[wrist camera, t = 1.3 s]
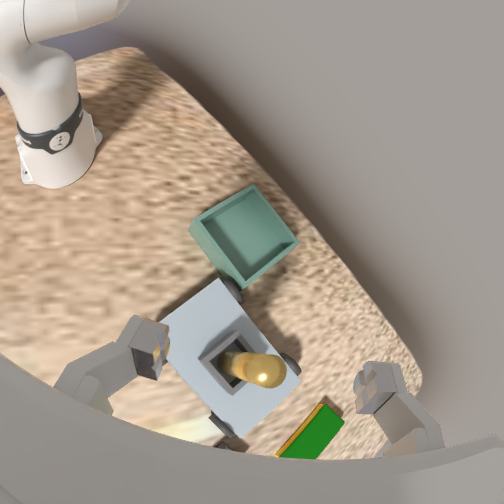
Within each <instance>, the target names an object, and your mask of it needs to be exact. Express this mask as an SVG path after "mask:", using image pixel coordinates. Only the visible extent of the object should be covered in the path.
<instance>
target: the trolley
mask: <svg viewBox="0 0 504 504" xmlns="http://www.w3.org/2000/svg"><path fill="white" fill-rule="evenodd" d="M242 302H243V298H242V295H241V293H240V291H239V290H238V288H237V287H236V286H235V285H234V284H233V283H232V282H231V281H230V280H228V279H226V278H223V279H222V280H220V279H219V278H217V279H216V280H215V281H213V282H212V283H211V284H209V285H208V286H207V287H205V288H204V289H203V290H201V291H200V292H199V293H197V294H196V295H194V296H193V297H192V298H190V299H189V300H188V301H186V302H185V303H184V304H182V305H181V306H180V307H178V308H177V309H176V310H174V311H173V312H172V313H170V314H169V315H168V316H166V317H165V318H164V319H162V320H161V321H160V322H159V323H163V324H166V325H169V330H170V332H169V334H168V337H169V338H170V348H169V352H168V355H167V358H166V360H165V361H163V362H162V366H163V365H165V364H166V363H167V362H169V363H170V364H171V366H172V367H173V368H174V369H175V370H176V371H177V373H178V374H179V375H180V376H181V377H182V378H183V380H184V381H185V382H186V383H187V384H188V385H189V386H190V388H191V389H192V390H193V391H194V392H195V393H196V394H197V395H198V396H199V397H200V399H201V400H202V401H203V402H204V403H205V404H206V405H207V406H208V407H209V408H210V409H211V410H212V411H213V412H214V413H213V414H212V415H211V416H210V417H209V419H210V420H211V421H212V422H213V423H214V424H215V425H216V426H217V427H218V428H219V429H220V430H221V431H222V432H223V433H224V434H225V435H226V436H227V437H229V438H230V439H231V438H232V437H233V436H234V435H237V436H238V437H239V438H240V439H241V438H242V437H243V436H245V435H246V434H247V433H248V432H249V431H250V430H251V429H252V428H254V427H255V426H256V425H257V424H258V423H259V422H260V421H261V420H262V419H263V418H265V417H266V416H267V415H268V414H269V413H270V412H271V411H272V410H273V409H274V408H275V407H276V406H277V405H278V404H279V403H280V402H281V401H282V400H283V399H284V398H285V397H286V396H287V395H288V394H289V393H290V392H291V391H292V390H293V389H294V388H295V387H296V386H297V385H298V384H299V383H300V382H301V380H300V379H299V378H298V375H299V374H300V373H301V368H300V367H299V365H298V364H297V363H296V362H295V361H294V360H293V359H292V358H291V357H289V356H288V355H286V354H284V353H280V354H278V352H277V351H276V350H275V349H274V347H273V346H272V345H271V344H270V343H269V341H268V340H267V339H266V338H265V336H264V335H263V334H262V333H261V331H260V330H259V329H258V328H257V326H256V325H255V324H254V323H253V321H252V320H251V319H250V318H249V316H248V315H247V314H246V312H245V311H244V310H243V309H242V307H241V306H240V304H241V303H242ZM227 350H231V351H240V352H250V353H261V354H273V355H277V356H279V357H281V358H282V359H283V360H284V362H285V363H286V367H287V375H286V378H285V380H284V381H283V383H282V384H281V385H279V386H278V387H275V388H271V389H268V388H264V387H261V386H258V385H256V384H253V383H250V382H247V381H245V380H242V379H239V378H237V377H234V376H232V375H229V374H227V373H224V372H222V371H221V370H220V369H219V367H218V365H217V359H218V357H219V355H220V354H221V353H222V352H224V351H227Z"/></svg>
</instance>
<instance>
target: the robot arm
mask: <svg viewBox="0 0 504 504" xmlns="http://www.w3.org/2000/svg"><path fill="white" fill-rule="evenodd" d="M129 1H130V0H0V87H1V88H2V90H3V91H4V92H5V94H6V95H7V97H8V99H9V102H10V104H11V106H12V108H13V111H14V113H15V116H16V118H17V128H18V132H19V134H18V135H16V137H15V138H16V143H17V145H18V147H17V148H18V152H19V153H20V162H21V176H22V181H23V183H24V184H37V185H40V186H42V187H45V188H61V187H64V186H67V185H69V184H71V183H73V182H75V181H76V180H78V179H79V178H80V177H81V176H82V175H83V174H84V173H85V172H86V171H87V170H88V168H89V167H90V165H91V163H92V161H93V159H94V155H95V150H96V148H97V146H98V145H99V144H100V142H101V141H102V138H103V137H102V133H101V132H100V131H99V130H98V129H97V128H96V127H95V126H94V125H93V122H92V117H91V114H88V113H87V112H86V111H85V110H84V109H83V102H82V99H81V95H80V93H79V92H78V86H77V74H76V65H75V62H74V60H73V59H72V58H71V56H69V54H67V53H66V52H65V51H63V50H60V49H56V48H50V47H46V46H43V45H41V44H40V43H38V42H39V41H43V40H46V39H49V38H52V37H56V36H60V35H63V34H68V33H71V32H76V31H80V30H83V29H86V28H88V27H92V26H94V25H97V24H100V23H103V22H106V21H109V20H112V19H114V18H116V17H117V16H118V15H119V14H120V13H121V12H122V11H123V10H124V8H125V7H126V6H127V5H128V3H129ZM27 172H28V173H27ZM26 173H27V174H26ZM169 332H170V330H169V325H166V324H163V323H159V322H156V321H153V320H150V319H147V318H143V317H140V316H137V315H133V316H132V317H131V318H130V320H129V321H128V323H127V325H126V326H125V328H124V329H123V331H122V333H121V334H120V336H119V338H118V339H117V341H116V343H115V342H111V343H109V344H107V345H105V346H103V347H101V348H99V349H97V350H95V351H93V352H91V353H89V354H87V355H85V356H83V357H81V358H79V359H77V360H75V361H73V362H71V363H69V364H67V366H66V368H65V369H64V371H63V372H62V374H61V376H60V377H59V379H58V380H57V382H56V384H55V385H54V387H52V386H50V385H48V384H47V383H45V382H43V381H42V380H40V379H38V378H37V377H35V376H33V375H32V374H30V373H29V372H27V371H25V370H24V369H22V368H21V367H19V366H18V365H16V364H15V363H14V362H12V361H11V360H9V359H8V358H7V357H5V356H4V355H3V354H1V353H0V504H504V441H503V440H502V439H501V438H500V437H499V436H498V435H496V434H491V435H488V436H485V437H482V438H479V439H475V440H472V441H468V442H465V443H461V444H457V445H453V446H449V447H445V446H444V442H443V437H442V433H441V428H440V424H439V423H438V422H437V421H436V420H435V419H434V418H433V417H432V416H431V415H430V414H429V413H428V411H427V410H426V409H425V408H424V407H423V406H422V405H421V404H420V403H419V402H418V401H417V399H416V398H415V397H414V396H413V395H412V394H411V393H408V392H407V388H406V385H405V381H404V377H403V374H402V370H401V367H400V365H399V364H398V363H388V362H376V361H368V362H366V363H365V364H364V366H363V369H364V370H362V371H360V372H358V374H357V375H356V377H355V380H354V385H353V389H354V393H355V394H356V395H357V399H356V400H355V405H356V413H357V414H374V415H373V416H374V417H375V419H376V420H377V422H378V423H379V425H380V427H381V428H382V430H383V431H384V433H385V434H386V436H387V437H388V439H389V440H390V442H391V443H392V446H391V447H389V448H388V449H386V450H385V451H384V452H383V455H384V457H381V458H368V459H348V460H316V459H295V458H282V457H272V456H263V455H255V454H248V453H242V452H236V451H230V450H225V449H220V448H215V447H210V446H206V445H201V444H197V443H193V442H189V441H185V440H181V439H178V438H174V437H171V436H167V435H164V434H161V433H158V432H155V431H151V430H148V429H145V428H143V427H140V426H137V425H134V424H131V423H129V422H126V421H124V420H121V419H118V418H116V417H114V416H112V413H113V409H112V406H111V405H110V403H109V401H108V399H107V398H108V397H109V396H111V395H112V394H113V393H115V392H116V391H118V390H119V389H121V388H122V387H123V386H125V385H126V384H128V383H129V382H130V381H132V380H133V379H134V378H136V377H137V376H138V375H139V376H142V377H146V378H149V379H153V380H156V381H157V380H158V377H159V375H160V372H161V370H162V362H163V361H165V360H166V358H167V355H168V352H169V348H170V338H169V337H168V334H169Z"/></svg>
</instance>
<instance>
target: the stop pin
mask: <svg viewBox="0 0 504 504" xmlns="http://www.w3.org/2000/svg"><path fill="white" fill-rule="evenodd" d="M217 365H218V367H219V369H220V370H221V371H222V372H224V373H227V374H229V375H232V376H234V377H237V378H239V379H242V380H245V381H247V382H250V383H253V384H256V385H258V386H261V387H264V388H268V389H271V388H275V387H278V386H279V385H281V384H282V383H283V381H284V380H285V378H286V375H287V367H286V363H285V362H284V360H283V359H282V358H281V357H279V356H277V355H273V354H261V353H250V352H240V351H231V350H227V351H224V352H222V353H221V354H220V355H219V357H218V359H217Z"/></svg>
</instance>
